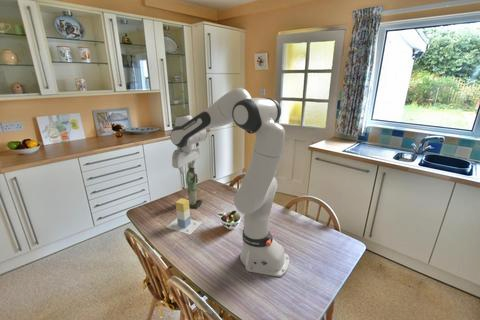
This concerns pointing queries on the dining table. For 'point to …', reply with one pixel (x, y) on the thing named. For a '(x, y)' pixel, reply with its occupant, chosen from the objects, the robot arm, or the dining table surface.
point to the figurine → (192, 188)
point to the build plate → (186, 230)
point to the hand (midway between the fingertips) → (187, 170)
